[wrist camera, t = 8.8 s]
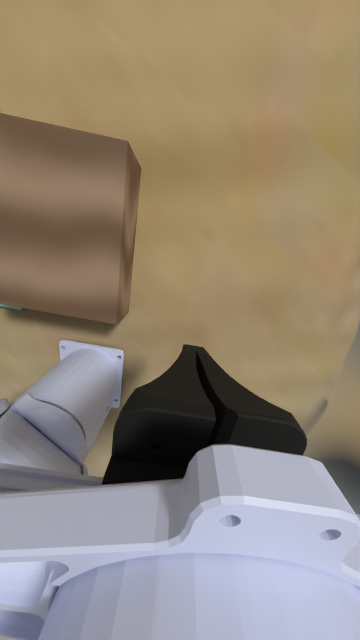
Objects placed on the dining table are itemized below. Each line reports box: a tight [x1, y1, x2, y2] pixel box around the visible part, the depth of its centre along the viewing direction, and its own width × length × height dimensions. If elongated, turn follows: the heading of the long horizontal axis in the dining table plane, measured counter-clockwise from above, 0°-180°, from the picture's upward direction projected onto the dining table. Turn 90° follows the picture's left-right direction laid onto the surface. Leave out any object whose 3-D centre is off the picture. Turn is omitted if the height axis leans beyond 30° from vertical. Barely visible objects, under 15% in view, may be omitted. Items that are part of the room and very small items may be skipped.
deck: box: [0, 113, 141, 325], centre depth 16 cm, size 14×12×4 cm
